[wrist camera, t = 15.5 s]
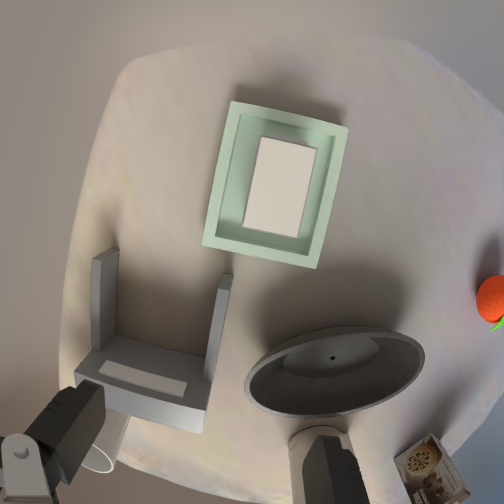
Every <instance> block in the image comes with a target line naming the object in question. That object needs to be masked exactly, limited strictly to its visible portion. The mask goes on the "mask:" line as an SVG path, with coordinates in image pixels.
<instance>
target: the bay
mask: <svg viewBox="0 0 504 504" xmlns="http://www.w3.org/2000/svg"><path fill="white" fill-rule="evenodd" d="M119 252H120V250H118V249H113V248H110V249H108V250H107V251H105V252H103V253H101V254H99V255H97V256H96V257H94V258H92V269H91V336H92V351H91V352H90V353H89V354H88V355H87V357H86V358H85V359H84V360H83V361H82V362H81V364H80V365H79V366H78V367H77V368H76V369H75V371H74V376H75V383H76V388H77V386H78V385H79V384H80V383H81V382H82V381H83V380H84V379H87V380H90V381H92V382H95V383H97V384H100V385H102V386H103V387H104V392H105V407H107V408H110V409H113V410H115V411H118V412H121V413H124V414H128V415H131V416H134V417H137V418H140V419H144V420H147V421H151V422H154V423H158V424H161V425H165V426H169V427H173V428H177V429H181V430H185V431H190V432H194V433H199V434H202V430H203V425H204V420H205V415H206V411H207V406H208V401H209V396H210V391H211V387H212V382H213V377H214V371H215V366H216V361H217V356H218V351H219V346H220V340H221V335H222V330H223V325H224V320H225V315H226V310H227V305H228V300H229V295H230V290H231V285H232V280H233V275H230V274H225V273H223V275H222V278H221V281H220V284H219V287H218V291H217V296H216V302H215V307H214V313H213V318H212V324H211V329H210V335H209V341H208V347H207V352H206V358H204V357H200V356H195V355H191V354H187V353H183V352H178V351H174V350H170V349H166V348H162V347H159V346H155V345H151V344H147V343H144V342H140V341H137V340H133V339H130V338H126V337H123V336H120V335H116V297H117V278H118V264H119Z"/></svg>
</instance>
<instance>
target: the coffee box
mask: <svg viewBox="0 0 504 504" xmlns="http://www.w3.org/2000/svg"><path fill="white" fill-rule="evenodd" d="M393 460H394V463H395V465H396V467H397V470H398V472H399V474H400V477H401V479H402V481H403V484H404V486H405V488H406V491H407V493H408V496H409V498H410V501H411V503H412V504H459V503H461V502H462V501H463V500H465V499H466V498H467V497H469V496H470V495H471V494H470V492H469V491H468V489H467V487H466V485H465V483H464V481H463V480H462V478H461V476H460V474H459V473H458V471H457V469H456V467H455V466H454V464H453V462H452V460H451V459H450V457H449V455H448V454H447V452H446V450H445V448H444V447H443V445H442V443H441V442H440V440H439V439H437V438H436V437H435V436H434V435H433V434H432V433H431V432H430V433H428V434H427V435H426V436H425V437H423V438H422V439H421V440H419V441H418V442H417V443H415V444H414V445H413V446H411V447H410V448H409V449H407V450H406V451H404V452H403V453H402V454H400V455H399V456H397V457H396V458H394V459H393Z"/></svg>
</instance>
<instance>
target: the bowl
mask: <svg viewBox="0 0 504 504" xmlns="http://www.w3.org/2000/svg"><path fill="white" fill-rule="evenodd" d="M332 356H333V357H332ZM424 361H425V353H424V350H423V348H422V346H421V345H420V344H419V343H418V342H417V341H416V340H414V339H412V338H410V337H408V336H406V335H403V334H401V333H398V332H395V331H392V330H388V329H383V328H377V327H369V326H342V327H333V328H326V329H321V330H316V331H312V332H309V333H305V334H302V335H299V336H297V337H294V338H292V339H289V340H287V341H285V342H283V343H281V344H279V345H278V346H276V347H275V348H273V349H272V350H270V351H269V352H268V353H266V354H265V355H264V356H263V357H262V358H261V359H260V360H259V361H258V362H257V363H256V364H255V365H254V367H253V368H252V369H251V371H250V372H249V374H248V376H247V377H246V380H245V383H244V391H245V394H246V396H247V398H248V399H249V401H250V402H251V403H252V404H254V405H255V406H256V407H258V408H259V409H261V410H263V411H266V412H268V413H271V414H275V415H279V416H284V417H291V418H324V417H333V416H339V415H344V414H349V413H353V412H357V411H361V410H364V409H367V408H370V407H373V406H375V405H378V404H380V403H382V402H384V401H386V400H388V399H390V398H392V397H394V396H395V395H397V394H399V393H400V392H402V391H403V390H404V389H406V388H407V387H408V386H409V385H410V384H411V383H412V382H413V381H414V380H415V379H416V378H417V376H418V375H419V373H420V372H421V370H422V368H423V365H424Z"/></svg>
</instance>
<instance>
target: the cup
mask: <svg viewBox="0 0 504 504" xmlns="http://www.w3.org/2000/svg"><path fill="white" fill-rule="evenodd" d="M130 418H131V415H128V414H124V413H121V412H118V411H115V410H113V409H110V408H107V407H106V418H105V422H104V425H103V427H102V429H101V431H100V432H99V434H98V436H97V437H96V439H95V441H94V443H93V444H92V446H91V448H90V449H89V451H88V453H87V455H86V456H85V458H84V460H83V462H82V463H81V465H83V466H85V467H87V468H88V469H90V470H93V471H96V472H101V473H109V472H111V471H112V470H113V468H114V465H115V461H116V458H117V455H118V452H119V449H120V446H121V443H122V440H123V437H124V434H125V431H126V428H127V426H128V423H129V420H130Z"/></svg>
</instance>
